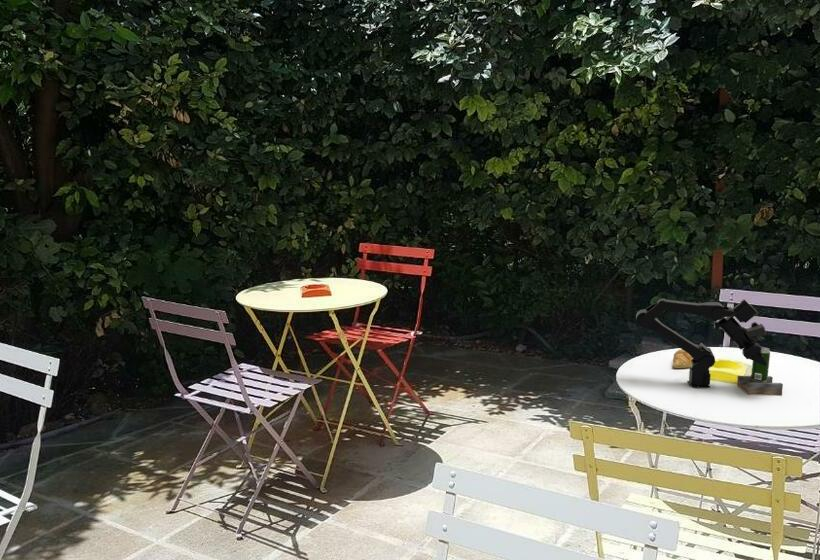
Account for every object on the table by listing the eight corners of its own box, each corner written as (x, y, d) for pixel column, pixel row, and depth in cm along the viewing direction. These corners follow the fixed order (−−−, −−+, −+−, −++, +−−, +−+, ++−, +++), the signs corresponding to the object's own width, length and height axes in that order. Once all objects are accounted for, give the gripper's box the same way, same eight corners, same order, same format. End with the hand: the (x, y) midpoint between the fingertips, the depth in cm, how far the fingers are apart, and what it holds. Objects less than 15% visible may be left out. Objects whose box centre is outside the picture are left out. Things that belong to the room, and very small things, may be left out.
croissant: (680, 379, 290) (691, 364, 286) (660, 363, 295) (669, 348, 291) (702, 367, 305) (712, 352, 301) (682, 352, 310) (691, 338, 306)
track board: (747, 394, 260) (748, 383, 259) (736, 385, 270) (737, 375, 269) (781, 395, 259) (782, 384, 259) (769, 386, 269) (770, 376, 269)
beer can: (767, 383, 261) (770, 351, 258) (750, 381, 263) (753, 349, 261) (767, 379, 265) (770, 347, 263) (751, 377, 268) (754, 345, 266)
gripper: (757, 322, 252) (789, 356, 251) (749, 311, 270) (779, 343, 269) (730, 342, 256) (762, 375, 255) (724, 330, 274) (753, 361, 272)
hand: (764, 363), depth 263 cm, fingers closed on beer can, 5 cm apart
